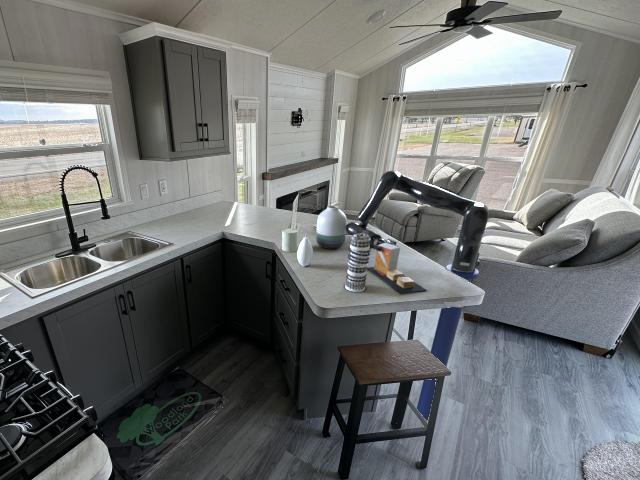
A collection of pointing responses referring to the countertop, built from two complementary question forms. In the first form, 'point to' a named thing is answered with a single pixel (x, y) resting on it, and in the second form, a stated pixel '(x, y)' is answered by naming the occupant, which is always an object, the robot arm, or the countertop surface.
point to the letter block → (405, 282)
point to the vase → (331, 228)
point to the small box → (387, 258)
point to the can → (289, 240)
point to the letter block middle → (394, 274)
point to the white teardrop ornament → (305, 252)
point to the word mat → (394, 283)
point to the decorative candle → (358, 262)
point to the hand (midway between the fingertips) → (388, 248)
